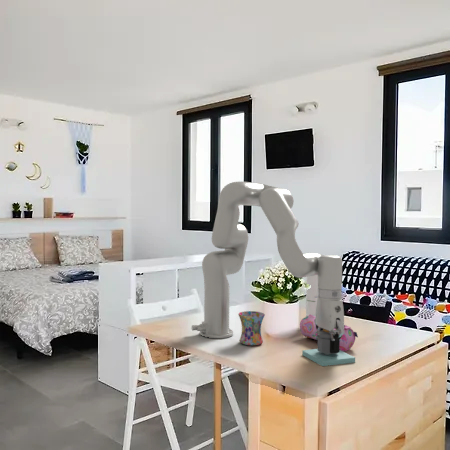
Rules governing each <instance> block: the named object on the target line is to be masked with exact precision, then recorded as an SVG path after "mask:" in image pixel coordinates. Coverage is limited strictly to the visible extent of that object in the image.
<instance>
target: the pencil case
mask: <svg viewBox="0 0 450 450" xmlns="http://www.w3.org/2000/svg"><path fill="white" fill-rule="evenodd" d="M315 318H316V316H314V315H309V316H306V315H305V317H303V318H302V319H301V320H300V322H299V331H300V333H301V334H302V335H303V336H304V337H305V338H307V339H314V340H316V341H318V335H319V334H317V329H316V325H315V322H314V319H315ZM334 330H336V329H334ZM344 331H345V333H344V334H343V335H342V337H341V340H340V347H339V350H341V351H343V352H347V351H349V350H350V349H352V347H353V346H354V344H355V341H356V338H359V336H358V332H356V331H354V330H353V329H352V328H351V326H348V325H346V324H344Z"/></svg>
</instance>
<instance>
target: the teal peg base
mask: <svg viewBox="0 0 450 450" xmlns="http://www.w3.org/2000/svg"><path fill="white" fill-rule="evenodd" d="M317 349H318V348H313V349H305V350H303V349H302V350H301V351H302V356H304V357H305V358H307V359H309V360H311V361H312V362H314V363H316V364H318V365H320V366H322V367H328V365H329V366H337V365H343V364H351V363H352V364H353V363H356V357H355V356H353V355H350V354H349V353H347V352H346V351H341V350H339V353H337V354H325V353H321V352H319V351H317Z"/></svg>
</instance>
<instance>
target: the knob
mask: <svg viewBox="0 0 450 450" xmlns="http://www.w3.org/2000/svg"><path fill="white" fill-rule="evenodd" d="M335 334H336V332H335V333H334V336H335ZM330 340H331V335H330V331H328V330H325V329H323V330H320V331H319V335H318V340H317V342H318V346H317V348H316V349H317V351H319V352H321V353H325V354H337V353H330Z"/></svg>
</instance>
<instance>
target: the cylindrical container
mask: <svg viewBox="0 0 450 450" xmlns="http://www.w3.org/2000/svg"><path fill="white" fill-rule="evenodd" d="M307 284H309V285H311V288H310V289H308V290H307V289H306V300H305V304H306V305H305V317H306V316H309V315H314V316H316V305H317V299H318V298H317V293H318V275H313V276H308V277H306V285H307Z"/></svg>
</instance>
